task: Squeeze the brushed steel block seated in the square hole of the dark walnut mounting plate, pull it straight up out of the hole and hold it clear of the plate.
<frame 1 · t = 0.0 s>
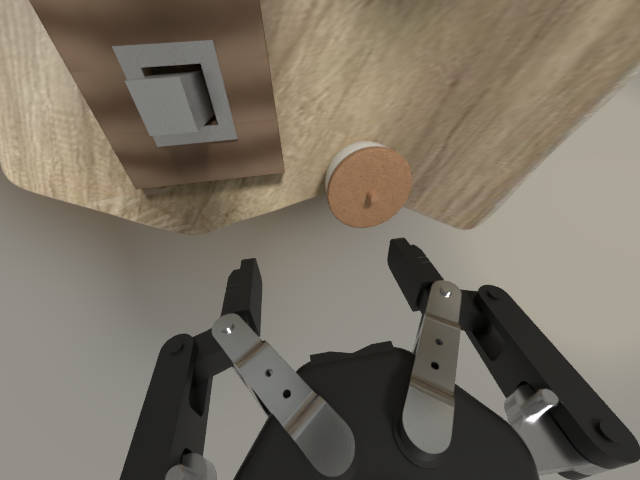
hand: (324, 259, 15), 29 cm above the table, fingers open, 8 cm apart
mount plate: (189, 94, 33), on the table
brushed steel block: (178, 100, 29), in the mount plate
lidded bowl: (353, 168, 43), on the table
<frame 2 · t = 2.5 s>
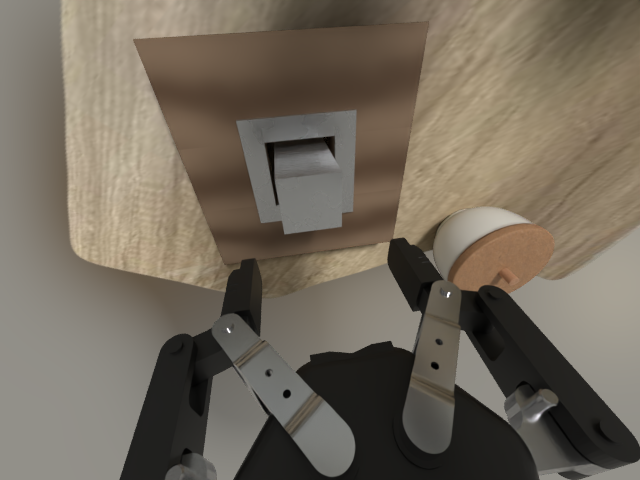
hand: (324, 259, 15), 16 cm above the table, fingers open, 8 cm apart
mount plate: (300, 161, 27), on the table
brushed steel block: (304, 179, 23), in the mount plate
lidded bowl: (457, 227, 38), on the table
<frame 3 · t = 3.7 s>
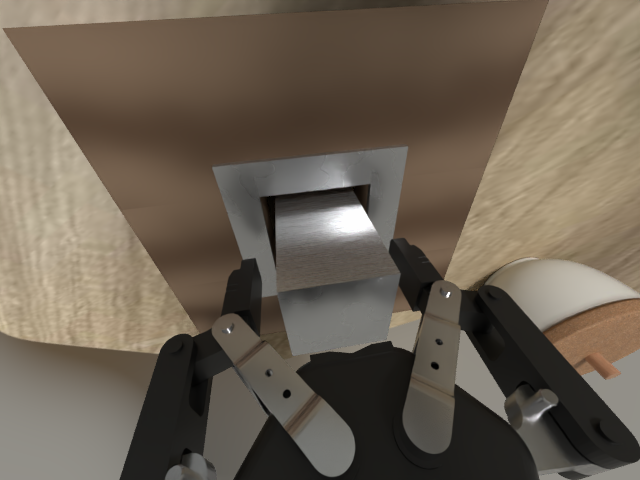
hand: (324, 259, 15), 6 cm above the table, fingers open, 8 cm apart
mount plate: (312, 209, 19), on the table
brushed steel block: (322, 250, 15), in the mount plate
lidded bowl: (510, 278, 29), on the table
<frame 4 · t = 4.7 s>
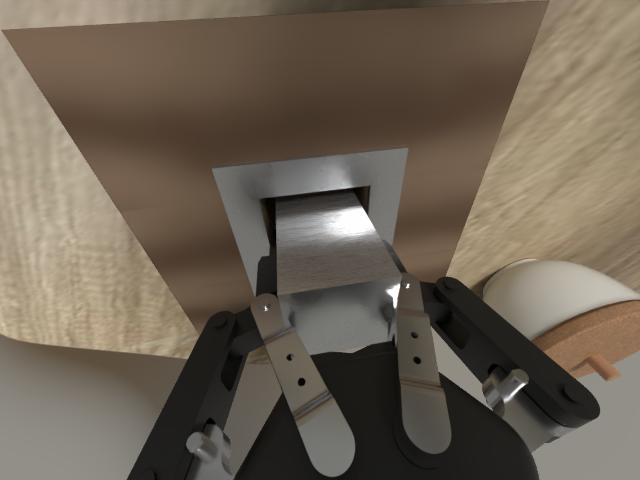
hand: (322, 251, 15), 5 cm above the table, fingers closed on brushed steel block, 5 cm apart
mount plate: (312, 210, 19), on the table
brushed steel block: (323, 252, 15), in the mount plate, touching gripper
lidded bowl: (510, 279, 29), on the table
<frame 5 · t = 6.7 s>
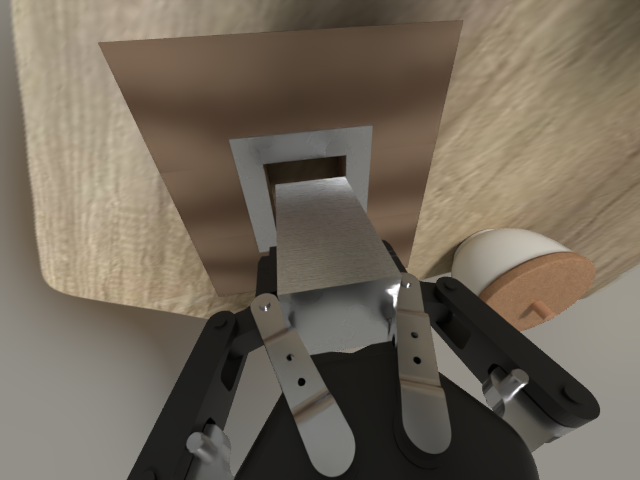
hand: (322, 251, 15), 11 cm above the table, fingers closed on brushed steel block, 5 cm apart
mount plate: (304, 181, 24), on the table
brushed steel block: (323, 251, 15), point 11 cm above the table, touching gripper
lidded bowl: (477, 249, 34), on the table
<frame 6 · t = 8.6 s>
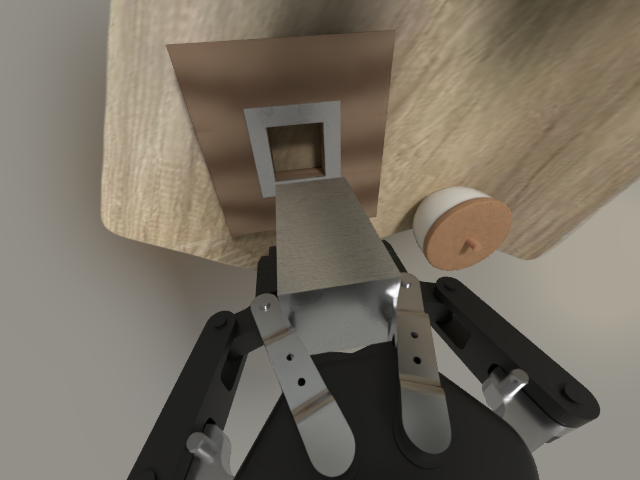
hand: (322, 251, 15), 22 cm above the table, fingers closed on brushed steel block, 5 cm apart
mount plate: (296, 145, 33), on the table
brushed steel block: (323, 252, 15), point 22 cm above the table, touching gripper
lidded bowl: (435, 207, 43), on the table
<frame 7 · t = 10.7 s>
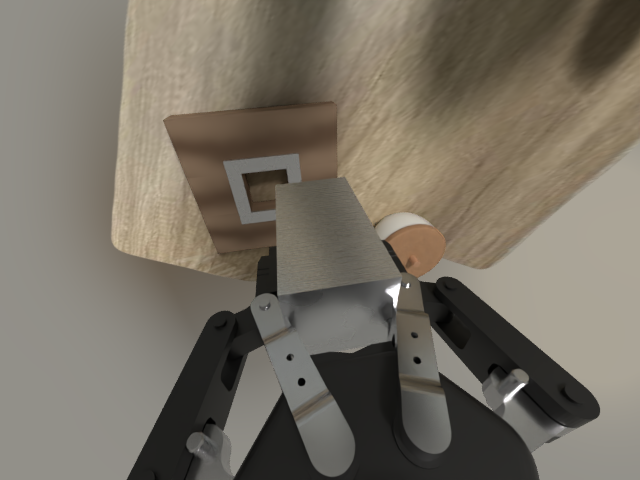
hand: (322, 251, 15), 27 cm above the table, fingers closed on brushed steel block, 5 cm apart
mount plate: (268, 182, 40), on the table
brushed steel block: (323, 252, 15), point 27 cm above the table, touching gripper
lidded bowl: (391, 227, 51), on the table
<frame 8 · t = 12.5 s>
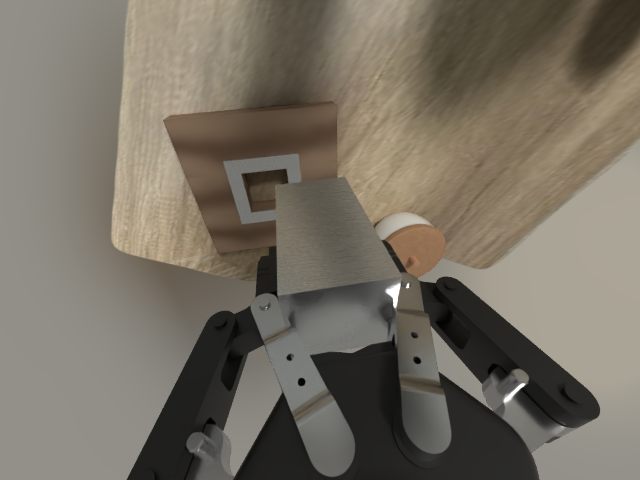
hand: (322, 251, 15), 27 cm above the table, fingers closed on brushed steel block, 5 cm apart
mount plate: (268, 182, 40), on the table
brushed steel block: (323, 252, 15), point 27 cm above the table, touching gripper
lidded bowl: (391, 227, 51), on the table
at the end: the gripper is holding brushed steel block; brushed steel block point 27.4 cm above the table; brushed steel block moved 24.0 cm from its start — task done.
